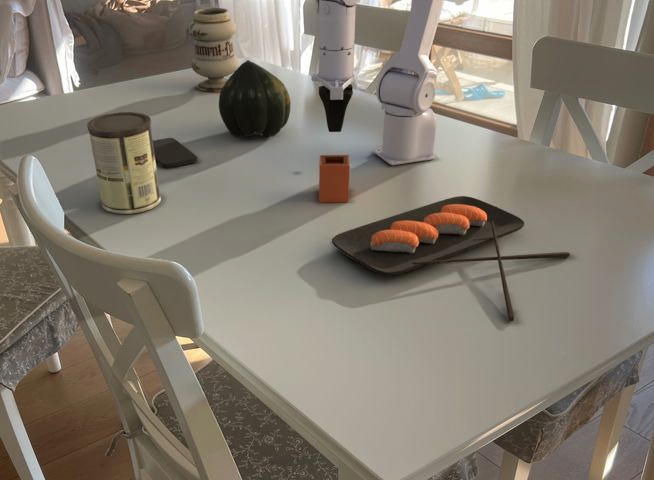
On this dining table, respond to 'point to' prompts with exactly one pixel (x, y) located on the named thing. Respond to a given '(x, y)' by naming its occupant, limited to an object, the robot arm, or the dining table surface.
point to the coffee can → (125, 162)
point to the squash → (254, 102)
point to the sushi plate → (433, 237)
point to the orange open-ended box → (334, 178)
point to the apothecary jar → (213, 47)
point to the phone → (172, 153)
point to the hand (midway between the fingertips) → (334, 130)
